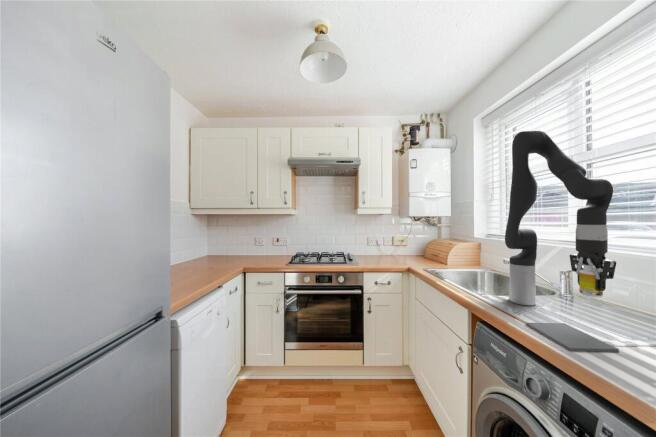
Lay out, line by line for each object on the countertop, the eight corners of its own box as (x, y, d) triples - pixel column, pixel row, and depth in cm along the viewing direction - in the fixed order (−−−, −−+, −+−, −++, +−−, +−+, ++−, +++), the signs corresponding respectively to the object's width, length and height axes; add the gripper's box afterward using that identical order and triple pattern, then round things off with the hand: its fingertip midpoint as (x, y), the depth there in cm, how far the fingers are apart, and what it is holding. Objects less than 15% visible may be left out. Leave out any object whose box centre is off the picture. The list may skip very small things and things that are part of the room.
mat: (525, 324, 91) (525, 322, 91) (564, 325, 90) (564, 323, 90) (570, 350, 73) (570, 348, 73) (618, 351, 72) (618, 349, 72)
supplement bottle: (600, 299, 82) (600, 267, 82) (577, 294, 87) (577, 264, 87) (604, 295, 86) (604, 265, 85) (581, 291, 90) (581, 262, 90)
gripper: (561, 236, 93) (561, 282, 94) (600, 240, 79) (600, 294, 79) (582, 236, 93) (582, 282, 93) (626, 240, 79) (626, 294, 79)
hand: (591, 287), depth 86 cm, fingers closed on supplement bottle, 5 cm apart
